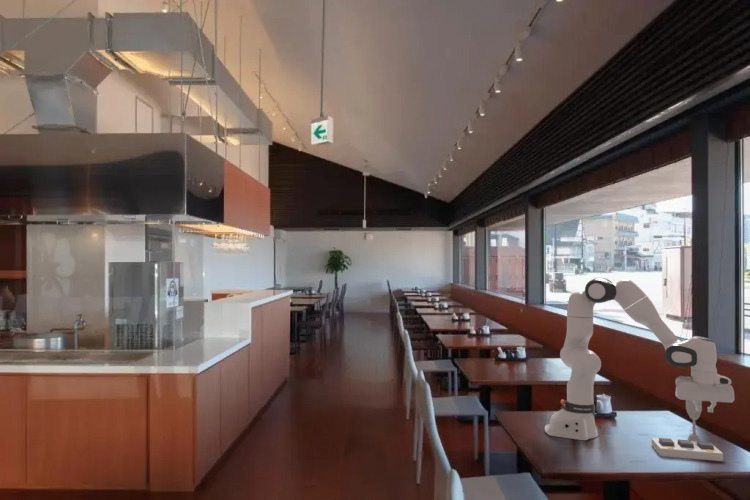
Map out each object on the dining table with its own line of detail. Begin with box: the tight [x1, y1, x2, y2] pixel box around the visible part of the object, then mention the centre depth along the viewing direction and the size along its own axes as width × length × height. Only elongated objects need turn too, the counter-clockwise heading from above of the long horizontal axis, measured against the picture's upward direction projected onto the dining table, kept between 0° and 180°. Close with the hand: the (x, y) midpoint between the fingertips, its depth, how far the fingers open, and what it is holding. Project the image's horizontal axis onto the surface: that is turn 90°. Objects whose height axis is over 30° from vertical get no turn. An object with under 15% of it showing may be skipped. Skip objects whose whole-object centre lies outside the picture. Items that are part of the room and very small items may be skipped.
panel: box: [651, 437, 724, 462], centre depth 202 cm, size 22×12×3 cm, turn 76°
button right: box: [697, 440, 715, 450], centre depth 200 cm, size 4×4×2 cm
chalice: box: [685, 400, 703, 442], centre depth 217 cm, size 7×7×18 cm
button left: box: [658, 437, 674, 446], centre depth 204 cm, size 4×4×2 cm
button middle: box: [677, 438, 694, 448], centre depth 202 cm, size 4×4×2 cm
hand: (704, 411), depth 201 cm, fingers open, 3 cm apart
